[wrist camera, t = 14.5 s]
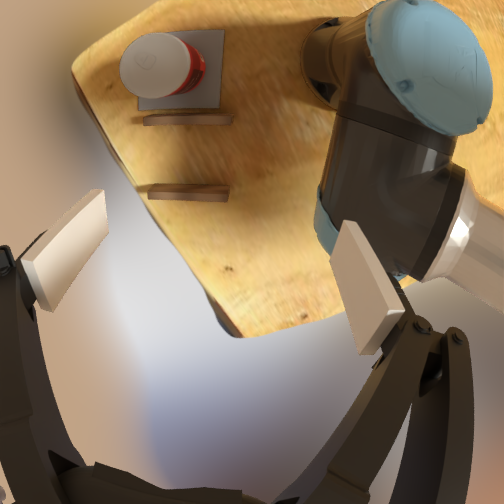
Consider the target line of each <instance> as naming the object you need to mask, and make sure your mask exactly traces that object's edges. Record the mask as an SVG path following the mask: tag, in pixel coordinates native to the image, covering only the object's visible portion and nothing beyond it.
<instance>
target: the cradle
mask: <svg viewBox="0 0 504 504" xmlns="http://www.w3.org/2000/svg"><path fill="white" fill-rule="evenodd" d="M232 122H233V114H223V113H174V114H153V115H149V116H147V117H144V118H143V126H152V125H184V124H203V125H231V124H232ZM147 193H148V199H152V200H187V201H210V202H227V201H228V197H229V186H220V185H197V184H154V185H153V186H152V187H151V188H150V190H149V191H148V192H147Z"/></svg>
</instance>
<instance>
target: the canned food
mask: <svg viewBox="0 0 504 504" xmlns="http://www.w3.org/2000/svg"><path fill="white" fill-rule="evenodd" d="M205 69H206V65H205V60H204V58H203V56H202V54H201V53H200V52H199V51H198V50H197V49H195V48H194V47H192V46H191V45H189V44H187V43H186V42H184V41H182V40H181V39H179V38H177V37H175V36H173V35H170V34H167V33H150V34H146V35H144V36H141V37H139V38H138V39H136V40H135V41H133V42H132V43H131V44H130V45H129V46H128V47H127V49H126V50H125V51H124V53H123V55H122V57H121V61H120V65H119V73H120V78H121V80H122V83H123V84H124V86H125V87H126V88H127V89H128V90H129V91H130V92H131V93H133V94H134V95H136V96H139V97H142V98H148V99H156V98H162V97H167V96H173V95H178V94H184V93H187V92H189V91H191V90H193V89H194V88H196V87H197V86H198V85H199V84H200V82H201V81H202V79H203V77H204V74H205Z"/></svg>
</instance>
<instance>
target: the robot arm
mask: <svg viewBox="0 0 504 504" xmlns="http://www.w3.org/2000/svg"><path fill="white" fill-rule="evenodd" d="M300 64H301V70H302V74H303V76H304V79H305V81H306V83H307V85H308V86H309V88H310V89H311V91H312V92H313V93H314V94H315V95H316V96H317V97H318V98H319V99H320V100H321V101H322V102H324V103H325V104H327V105H328V106H330V107H332V108H334V109H336V110H337V113H336V116H335V121H334V126H333V131H332V136H331V140H330V145H329V149H328V153H327V158H326V162H325V166H324V170H323V175H322V179H321V182H320V184H319V186H318V188H317V204H316V209H315V214H314V229H315V231H316V233H317V237H318V240H319V242H320V244H321V245H322V247H323V248H324V250H325V251H326V252H327V253H328V254H329V255H330V260H329V262H330V265H331V267H332V270H333V273H334V276H335V279H336V282H337V285H338V288H339V291H340V294H341V297H342V300H343V303H344V307H345V310H346V313H347V316H348V319H349V323H350V326H351V329H352V333H353V336H354V340H355V343H356V347H357V350H358V354H359V355H374V354H375V353H376V351H377V350H378V349H379V347H380V346H381V348H382V352H383V354H382V355H381V356H380V358H379V359H378V360H377V362H376V363H375V364H374V365H373V366H372V369H373V371H372V372H371V374H370V376H369V378H368V379H367V381H366V383H365V385H364V386H363V388H362V390H361V391H360V393H359V395H358V396H357V398H356V400H355V401H354V403H353V404H352V406H351V408H350V409H349V411H348V412H347V414H346V415H345V417H344V418H343V420H342V421H341V423H340V424H339V425H338V427H337V428H336V430H335V431H334V433H333V434H332V435H331V437H330V438H329V440H328V441H327V442H326V444H325V445H324V446H323V448H322V449H321V450H320V452H319V453H318V454H317V455H316V457H315V458H314V459H313V460H312V462H311V463H310V464H309V466H307V468H306V469H305V470H304V471H303V472H302V474H301V475H300V476H299V477H298V478H297V479H296V480H295V481H294V482H293V483H292V484H291V485H290V486H288V487H287V488H286V489H285V490H284V491H283V492H282V493H281V494H280V495H279V496H278V497H277V498H276V499H275V500H274V501H273V502H272V503H271V504H368V502H369V500H370V494H369V491H368V490H369V487H370V485H371V483H372V481H373V480H374V478H375V477H376V475H377V473H378V471H379V470H380V468H381V466H382V465H383V463H384V461H385V459H386V457H387V455H388V453H389V451H390V450H391V447H392V445H393V444H394V442H395V439H396V437H397V435H398V433H399V431H400V429H401V427H402V424H403V422H404V420H405V418H406V415H407V413H408V410H409V408H410V405H411V403H412V406H411V414H410V420H409V426H408V432H407V437H406V442H405V447H404V452H403V456H402V460H401V464H400V468H399V472H398V476H397V479H396V483H395V486H394V490H393V493H392V496H391V499H390V502H389V504H465V501H466V496H467V491H468V485H469V478H470V472H471V463H472V453H473V439H474V392H473V378H472V366H471V358H470V349H469V342H468V339H467V337H466V335H465V334H464V332H462V331H461V330H460V329H458V328H456V327H450V328H449V329H448V330H447V331H446V332H445V334H442V333H439V332H436V331H433V328H432V326H431V324H430V323H429V322H428V321H427V320H426V319H424V318H423V317H421V316H419V315H415V313H414V311H413V309H412V307H411V305H410V303H409V301H408V299H407V297H406V295H405V293H404V292H403V290H402V289H401V286H400V284H399V282H398V281H400V280H401V279H403V278H404V277H406V275H409V276H411V277H413V278H414V279H416V280H418V281H419V282H421V283H424V282H427V281H430V280H432V279H436V278H438V277H445V278H447V279H448V280H450V281H451V282H453V283H455V284H456V285H458V286H460V287H461V288H463V289H465V290H466V291H468V292H469V293H471V294H473V295H474V296H476V297H477V298H479V299H480V300H482V301H483V302H485V303H487V304H488V305H490V306H491V307H493V308H494V309H496V310H497V311H499V312H500V313H502V314H503V315H504V210H503V209H501V208H500V207H498V206H497V205H495V204H494V203H492V202H490V201H489V200H487V199H485V198H484V197H482V196H480V195H479V194H478V193H477V192H476V189H475V187H474V184H473V182H472V179H471V177H470V174H469V172H468V171H467V170H466V169H464V168H462V167H460V166H458V165H456V164H454V163H453V162H452V161H451V160H452V156H453V152H454V149H455V145H456V142H457V138H458V136H460V135H465V134H469V133H472V132H474V131H475V130H476V129H477V125H478V124H483V123H484V121H485V120H486V118H487V116H488V114H489V111H490V108H491V105H492V99H493V81H492V75H491V70H490V66H489V63H488V60H487V57H486V55H485V53H484V51H483V49H482V48H481V47H480V45H479V43H478V40H477V38H476V36H475V35H474V33H473V32H472V31H471V29H470V28H469V27H468V26H467V25H466V24H465V23H464V22H463V21H462V20H461V19H460V18H459V17H458V16H457V15H456V14H455V13H454V12H452V11H451V10H449V9H448V8H446V7H445V6H443V5H441V4H439V3H437V2H435V1H433V0H386V1H381V2H379V3H377V4H376V5H375V6H374V7H372V8H370V9H369V10H367V11H365V12H363V13H362V14H360V15H358V16H357V17H337V18H332V19H329V20H326V21H324V22H322V23H321V24H319V25H318V26H317V27H315V28H314V29H313V30H312V31H311V32H310V33H309V34H308V36H307V37H306V39H305V41H304V43H303V45H302V49H301V54H300ZM107 223H108V222H107V214H106V206H105V195H104V190H100V189H93V190H91V191H90V192H89V193H88V194H87V195H85V196H84V197H83V198H82V199H81V200H79V201H78V202H77V203H76V204H75V205H74V206H73V207H72V208H71V209H69V210H68V211H67V212H66V213H65V214H64V215H63V216H62V217H61V218H60V219H59V220H58V221H56V222H55V223H54V224H53V225H52V226H51V227H50V228H49V229H48V230H46V231H45V232H43V233H42V234H40V235H39V236H38V237H37V238H36V239H35V240H34V242H32V243H31V244H30V245H29V247H27V248H26V250H25V251H24V252H23V253H22V254H21V255H20V256H19V257H18V259H17V260H16V261H14V258H13V255H12V252H11V249H10V247H9V246H7V245H3V246H0V462H1V465H2V468H3V471H4V474H5V477H6V479H7V482H8V484H9V487H10V490H11V492H12V495H13V497H14V499H15V502H14V503H12V504H267V503H265V502H263V501H261V500H259V499H257V498H254V497H252V496H249V495H245V494H242V490H229V489H216V488H207V487H203V488H202V487H201V488H189V489H172V490H171V489H170V490H168V489H167V490H166V489H162V488H159V487H157V486H155V485H153V484H150V483H148V482H146V481H144V480H142V479H140V478H138V477H136V476H134V475H132V474H131V473H129V472H126V471H122V470H119V469H116V468H113V467H110V466H107V465H104V464H101V463H98V462H95V465H94V466H86V464H85V462H84V460H83V458H82V457H81V455H80V454H79V452H78V451H77V450H76V448H75V447H74V446H73V444H72V442H71V440H70V438H69V436H68V434H67V431H66V428H65V426H64V423H63V420H62V418H61V415H60V412H59V409H58V406H57V403H56V400H55V397H54V394H53V391H52V387H51V384H50V380H49V376H48V373H47V369H46V365H45V360H44V356H43V351H42V346H41V341H40V336H39V330H38V324H37V317H36V310H35V308H34V306H33V304H34V302H35V301H36V299H37V301H38V303H39V305H40V307H41V309H43V310H46V311H49V312H54V310H55V309H56V307H57V306H58V304H59V302H60V301H61V299H62V298H63V296H64V294H65V293H66V291H67V290H68V288H69V287H70V285H71V284H72V282H73V281H74V279H75V278H76V276H77V275H78V273H79V272H80V271H81V269H82V268H83V266H84V265H85V264H86V262H87V261H88V259H89V258H90V257H91V255H92V254H93V253H94V251H95V250H96V249H97V247H98V246H99V245H100V243H101V242H102V241H103V239H104V238H105V237H106V236H107V234H108V233H109V230H108V224H107ZM5 498H6V494H5V491H4V489H3V488H2V487H1V486H0V504H3V503H2V500H5Z"/></svg>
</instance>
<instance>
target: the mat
mask: <svg viewBox="0 0 504 504" xmlns="http://www.w3.org/2000/svg"><path fill="white" fill-rule="evenodd" d="M167 34H170V35H173V36H175V37H177V38H179V39H181V40H182V41H184V42H186V43H187V44H189V45H191V46H192V47H194V48H195V49H197V50H198V51H199V52H200V53H201V54H202V56H203V58H204V60H205V65H206V69H205V74H204V77H203V79H202V81H201V82H200V84H199V85H198V86H197V87H196V88H194V89H193V90H191V91H189V92H187V93H184V94H178V95H173V96H167V97H162V98H156V99H148V98H142V97H139V96H138V105H139V111H141V110H154V109H174V108H219V106H220V88H221V73H222V59H223V46H224V34H225V30H191V31H178V32H167Z"/></svg>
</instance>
